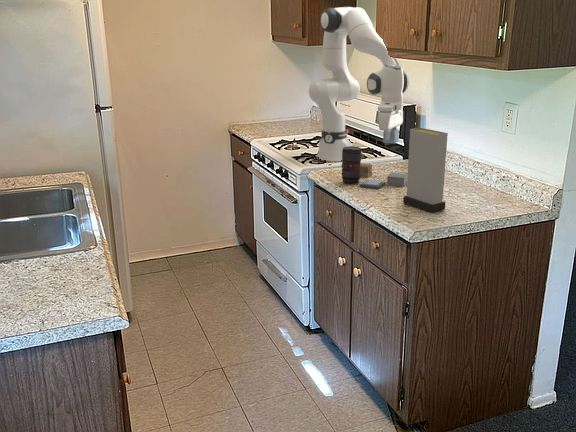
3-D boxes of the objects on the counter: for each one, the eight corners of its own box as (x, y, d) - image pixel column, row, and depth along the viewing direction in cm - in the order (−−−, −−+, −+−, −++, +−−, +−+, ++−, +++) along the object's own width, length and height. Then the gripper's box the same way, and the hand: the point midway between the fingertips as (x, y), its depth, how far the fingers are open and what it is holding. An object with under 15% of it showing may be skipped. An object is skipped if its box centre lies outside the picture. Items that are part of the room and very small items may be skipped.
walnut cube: (361, 174, 266) (361, 163, 264) (371, 175, 264) (372, 164, 262) (357, 176, 262) (357, 165, 260) (367, 177, 260) (368, 166, 258)
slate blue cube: (387, 140, 253) (387, 129, 251) (398, 141, 250) (398, 129, 249) (383, 142, 248) (383, 130, 247) (394, 143, 246) (395, 131, 245)
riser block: (390, 181, 254) (391, 172, 253) (407, 182, 252) (407, 173, 251) (386, 185, 248) (387, 176, 247) (403, 187, 246) (404, 177, 244)
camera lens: (359, 185, 248) (360, 150, 243) (340, 184, 249) (341, 149, 245) (361, 180, 255) (362, 146, 251) (342, 179, 257) (343, 145, 252)
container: (417, 206, 228) (411, 127, 222) (454, 210, 212) (449, 126, 207) (402, 209, 224) (397, 130, 219) (440, 214, 208) (434, 128, 203)
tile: (366, 182, 252) (367, 179, 252) (384, 184, 248) (384, 181, 248) (359, 187, 245) (359, 183, 245) (378, 189, 242) (378, 185, 241)
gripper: (393, 101, 255) (392, 134, 259) (376, 107, 238) (375, 141, 242) (407, 102, 252) (406, 134, 256) (391, 108, 235) (390, 142, 239)
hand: (390, 138), depth 249 cm, fingers closed on slate blue cube, 5 cm apart
